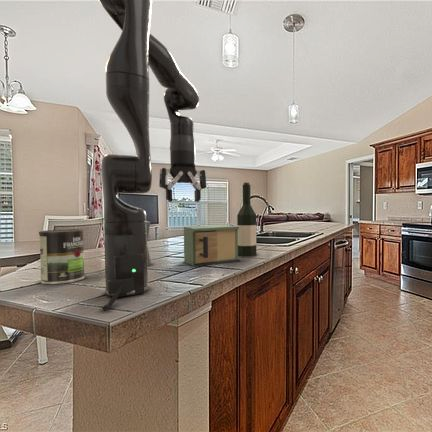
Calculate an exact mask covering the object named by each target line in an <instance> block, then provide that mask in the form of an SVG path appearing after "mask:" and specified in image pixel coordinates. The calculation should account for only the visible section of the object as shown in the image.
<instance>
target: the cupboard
mask: <svg viewBox="0 0 432 432" xmlns="http://www.w3.org/2000/svg"><path fill="white" fill-rule="evenodd" d="M238 229H239V226H237V225H232V224H214V225H194V226H193V225H192V226H183V262H184V263H185V264H187V265H189V266H192V267H203V266H204V267H205V266H211V265H220V264H221V265H222V264H228V263H237V262H240V259H239V256H238ZM213 231H217V261H213V262H205V263H195V233H196V232H213Z"/></svg>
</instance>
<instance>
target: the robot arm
mask: <svg viewBox="0 0 432 432" xmlns="http://www.w3.org/2000/svg"><path fill="white" fill-rule="evenodd" d="M98 2H99V3H100V5H101V6H102V8H103V9H104V10H105V12H106V13H107V14H108V16H109V17H110V18H111V19H112V20H113V22H114V23H115V24H116V25H117V26H118V28H119V30H121V33H120V35H119V37H118V40H117V41H116V44H115V45H114V47H113V49H112V51H111V53H110V55H109V57H108V60H107V61H106V65H105V95H106V98H107V101H108V102H109V103H108V104H110V107H111V108H112V110H113V111H114V113H115V114H116V115H117V117H118V119H119V120H120V121H121V122H122V124H123V126H124V127H125V129H126V130H127V132H128V134H129V136H130V138H131V140H132V142H133V146H134V149H135V154H136V155H131V154H130V155H129V154H110V153H108V154H104V155H103V157H102V159H101V162H100V173H101V186H102V187H101V188H102V198H103V239H104V241H103V243H104V273H105V274H104V276H105V288H104V289H105V290H104V292H105V295H106V296H108V297H111V298H110V300H109V301H108V302H107V303H106V304H105V305H103V306H102V311H107V310H109V309H110V308H111V307H112V306H113V304H115V302H116V300H117V299H118V298H123V297H129V296H135V295H143V294H145V293H146V292H147V291H148V290H149V280H148V279H149V277H148V273H149V272H148V266H147V246H148V241H147V228H146V221H147V212H146V210H145V209H143V208H141V207H136V206H134V205H131V204H129V203H126V202H125V201H123V200H122V199H121V198H120V197H119V194H135V195H136V194H147V193H149V192H150V190H151V188H152V183H153V173H152V172H153V169H152V155H151V143H150V142H151V141H150V70H151V72H152V74H153V75H154V76H155V79H156V80H157V82H158V83H159V85H160V86H161V87H163V88H166V89H165V91H164V93H163V101H164V106H165V108H166V111H167V115H168V120H169V125H170V140H169V156H170V158H169V159H170V168H166V167H161V168H160V169H159V182H158V183H159V185H158V186H159V188H161V189H164V190H165V199H166V201H167V202H168V203H172V202H173V189H172V188H173V187H174V186H175V185H176V184H182V183H183V184H190V185H191V186H192V187H193V188H194V202H195V203H199V202H200V201H201V198H202V196H201V195H202V194H201V191H202V190H204V189H206V188H207V177H206V170H204V169H201V170H197V168H196V143H195V128H194V127H195V125H194V120H193V119H192V118H191V117H189V116H185V115H181V112H180V111H190V110H191V111H192V110H196V109H197V108H198V106H199V104H200V96H199V93H198V91H197V89H196V87H195V86H194V85H193V84H192V83H191V82H190V81H189V79H188V78H187V77H186V76H185V75H184V74H183V73H182V72H181V70H180V68H179V66H178V64H177V63H176V60H175V58H174V56H173V55H172V53H171V51H169V49H168V48H167V47H166V46H165V44H163V43H162V42H161V41H159V39H158V38H157V37H155V36H154V35H153V34H151V33H150V32H151V31H150V30H151V20H152V9H153V0H98ZM168 175H170V176H171V177H172V178H171V179H170V180H169V181H168V183H167V181H166V180H167V176H168ZM196 175H197V177H198V178H199V183H198V180H197V179H196V178H195V177H196ZM166 183H167V184H166Z"/></svg>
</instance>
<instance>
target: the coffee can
mask: <svg viewBox="0 0 432 432" xmlns="http://www.w3.org/2000/svg"><path fill="white" fill-rule="evenodd" d="M38 235H39V256H40V257H39V258H40V261H39V262H40V283H41V284H42V285H62V284H70V283H75V282H80V281H82V280H84V279H85V278H86V277H85V257H84V254H85V253H84V229H80V228H79V229H78V228H77V229H76V228H75V229H73V228H71V229H52V230H51V229H50V230H49V229H48V230H41V231H38Z"/></svg>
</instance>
